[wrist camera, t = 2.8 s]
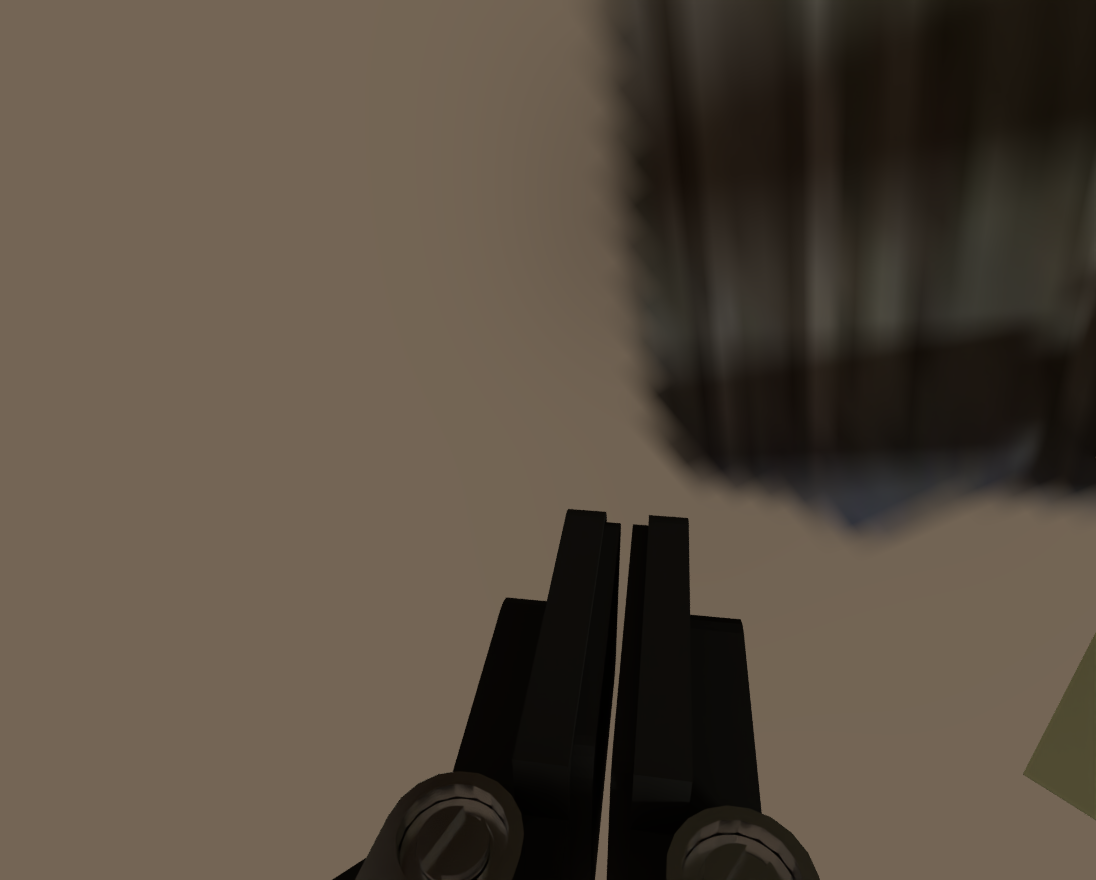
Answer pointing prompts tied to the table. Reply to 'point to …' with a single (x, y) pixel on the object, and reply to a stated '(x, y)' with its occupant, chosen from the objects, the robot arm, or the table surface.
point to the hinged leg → (1071, 742)
